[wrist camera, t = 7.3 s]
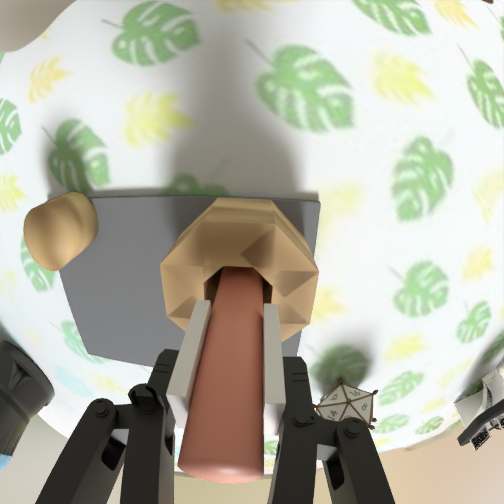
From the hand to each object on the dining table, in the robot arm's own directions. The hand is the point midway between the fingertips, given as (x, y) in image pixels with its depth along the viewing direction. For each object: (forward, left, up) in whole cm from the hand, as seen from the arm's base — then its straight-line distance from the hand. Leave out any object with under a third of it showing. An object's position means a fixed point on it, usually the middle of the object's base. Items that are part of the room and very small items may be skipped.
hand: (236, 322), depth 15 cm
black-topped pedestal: (+45, -26, -10) cm, 53 cm away
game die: (+13, -19, -10) cm, 25 cm away
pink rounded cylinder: (0, 0, -5) cm, 5 cm away
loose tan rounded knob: (-16, +3, -9) cm, 19 cm away
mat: (-7, -5, -9) cm, 13 cm away
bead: (0, 0, -9) cm, 9 cm away
